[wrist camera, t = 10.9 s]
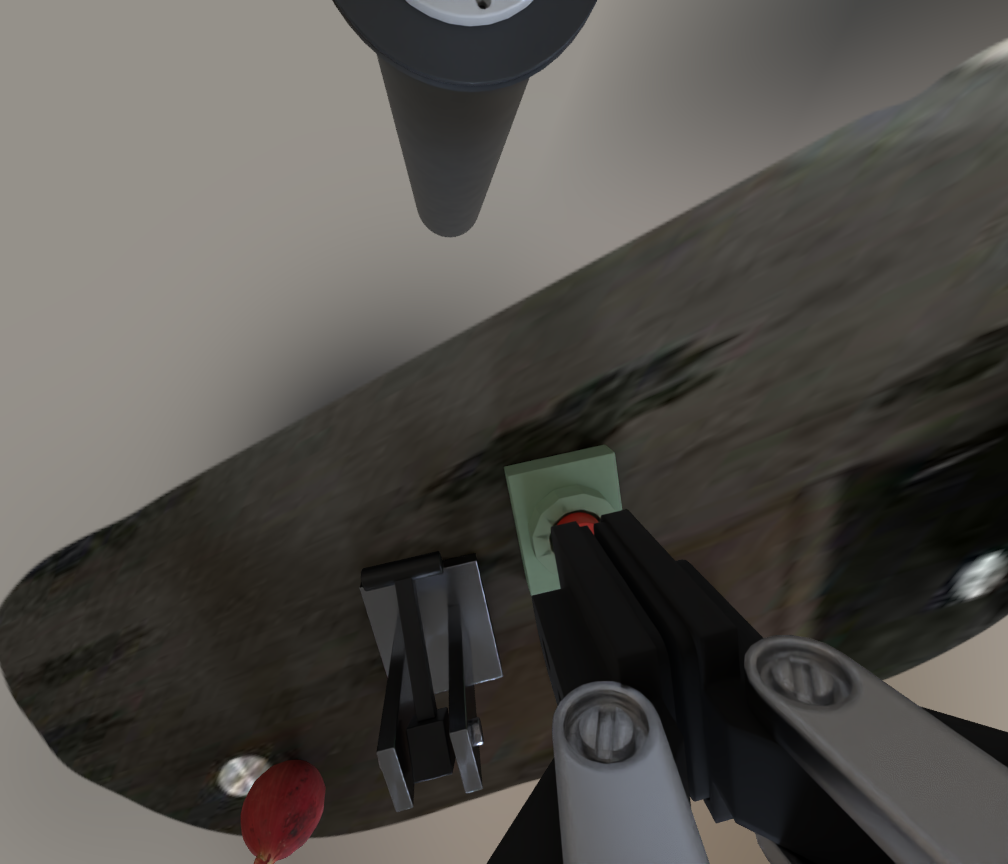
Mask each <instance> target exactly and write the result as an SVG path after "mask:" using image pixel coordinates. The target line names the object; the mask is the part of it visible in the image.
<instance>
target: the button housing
mask: <svg viewBox="0 0 1008 864" xmlns="http://www.w3.org/2000/svg"><path fill="white" fill-rule="evenodd" d="M504 470H505V475H506V480H507V485H508V491H509V496H510V501H511V506H512V511H513V516H514V521H515V526H516V531H517V536H518V541H519V546H520V551H521V556H522V561H523V566H524V571H525V576H526V581H527V584H528V587H529V591H530V594H531V595H535V594H539V593H544V592H548V591H552V590H556V589H560V582H559V577H558V571H557V565H556V560H555V554H554V548H553V543H552V537H551V527H552V526H556V525H557V523H558V522H559V521H560V520H561V519H562V518H564V517H565V516H567V515H569V514H572V513H576V512H582V513H587V514H590V515H592V516H593V517H594V518H596V519H597V521H598V522H601V515H604V514H608V513H612V512H617V511H621V510H622V505H621V497H620V490H619V482H618V474H617V467H616V459H615V453H614V452H613V451H612V450H611V449H610V448H608V447H607V446H606V445H601V446H596V447H592V448H587V449H582V450H578V451H573V452H569V453H564V454H560V455H555V456H551V457H546V458H542V459H537V460H532V461H528V462H523V463H519V464H514V465H510V466H505V467H504Z"/></svg>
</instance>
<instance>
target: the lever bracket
mask: <svg viewBox="0 0 1008 864" xmlns="http://www.w3.org/2000/svg"><path fill="white" fill-rule="evenodd" d="M442 562H443V569H444V572H443V574H439V575H435V576H431V577H426V578H422V579H418V580H415V585H416V591H417V597H418V603H419V609H420V614H421V620H422V626H423V632H424V638H425V644H426V649H427V655H428V661H429V667H430V673H431V679H432V684H433V690H434V694H436V693H440V692H444V691H448V690H449V735H450V739H451V742H452V746H453V749H454V753H455V757H456V760H457V764H458V767H459V771H460V775H461V778H462V782H463V785H464V789H465V792H466V793H470V792H473V791H477V790H481V789H482V788H483V787H482V775H481V763H480V751H479V745H482V744H483V743H484V738H483V731H482V725H481V721H480V718H479V717H477V714H476V702H475V690H474V684H476V683H480V682H484V681H488V680H492V679H495V678H499V677H503V673H502V667H501V662H500V658H499V653H498V649H497V645H496V640H495V636H494V631H493V627H492V623H491V618H490V614H489V609H488V605H487V601H486V596H485V592H484V587H483V583H482V579H481V574H480V570H479V566H478V561H477V557H476V553H473V554H468V555H464V556H460V557H455V558H451V559H447V560H442ZM360 592H361V595H362V598H363V601H364V604H365V608H366V611H367V614H368V617H369V621H370V624H371V627H372V630H373V634H374V637H375V640H376V643H377V646H378V650H379V653H380V656H381V659H382V663H383V666H384V669H385V672H386V676H387V679H388V680H387V686H386V693H385V699H384V706H383V713H382V719H381V726H380V732H379V739H378V746H377V752H376V753H377V756H378V761H379V766H380V769H381V770H382V771H383V774H384V777H385V780H386V783H387V786H388V789H389V792H390V795H391V798H392V801H393V804H394V807H395V810H396V812H398V811H402V810H406V809H410V808H412V807H413V800H414V784H415V783H414V779H413V773H412V766H411V760H410V753H409V747H408V740H407V734H406V728H407V727H408V725H409V723H410V721H411V719H412V717H413V716H414V715H416V713H415V707H414V700H413V694H412V688H411V682H410V675H409V669H408V663H407V657H406V651H405V644H404V638H403V632H402V626H401V620H400V613H399V607H398V601H397V595H396V589H395V585H392V586H388V587H384V588H379V589H375V590H371V591H365V590H364V588H363V586H362V582H361V585H360Z"/></svg>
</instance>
